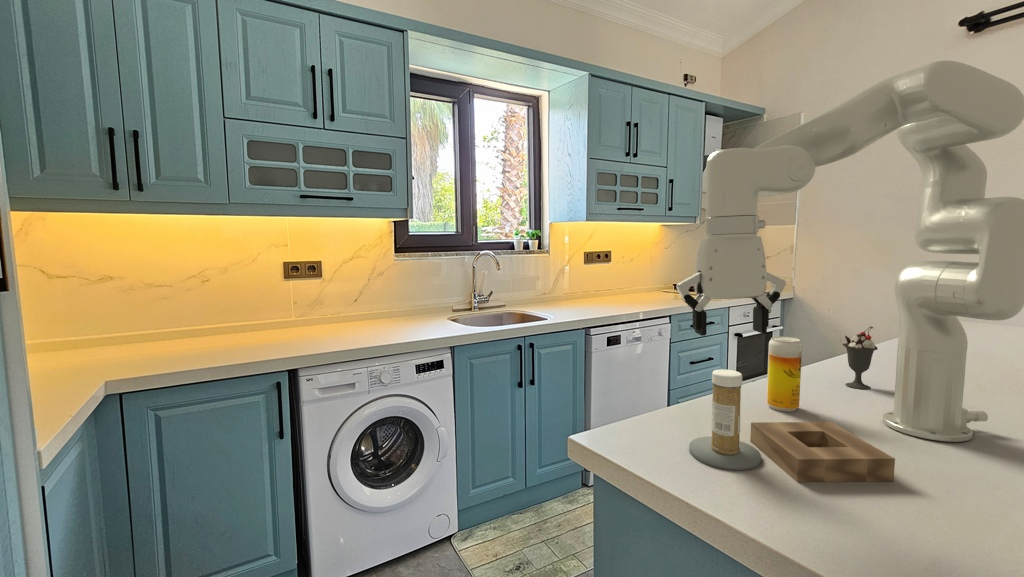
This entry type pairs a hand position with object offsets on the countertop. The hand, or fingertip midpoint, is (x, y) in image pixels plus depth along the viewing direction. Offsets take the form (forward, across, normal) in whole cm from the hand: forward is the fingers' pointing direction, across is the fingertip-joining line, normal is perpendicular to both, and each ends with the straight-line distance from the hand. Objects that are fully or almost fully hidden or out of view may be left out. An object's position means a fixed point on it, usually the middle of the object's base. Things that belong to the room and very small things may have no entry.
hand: (730, 332), depth 77 cm
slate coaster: (+21, +1, 0) cm, 21 cm away
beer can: (+22, -21, -22) cm, 37 cm away
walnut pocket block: (+21, -13, +2) cm, 25 cm away
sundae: (+22, -47, -36) cm, 63 cm away
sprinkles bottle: (+20, +1, 0) cm, 20 cm away
